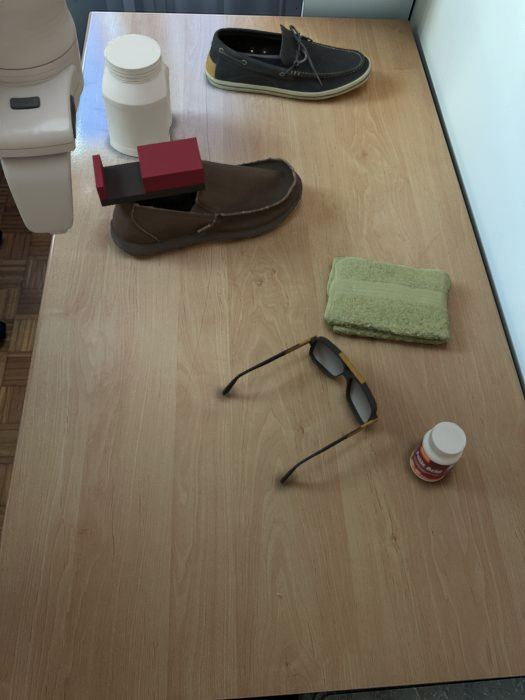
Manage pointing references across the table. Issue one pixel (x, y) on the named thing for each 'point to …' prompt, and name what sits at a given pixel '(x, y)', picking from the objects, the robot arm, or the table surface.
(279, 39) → the boat shoe
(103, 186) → the red and black block
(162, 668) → the table surface
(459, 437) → the pill bottle
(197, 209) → the loafer
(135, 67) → the jar
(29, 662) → the table surface
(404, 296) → the washcloth
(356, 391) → the sunglasses
